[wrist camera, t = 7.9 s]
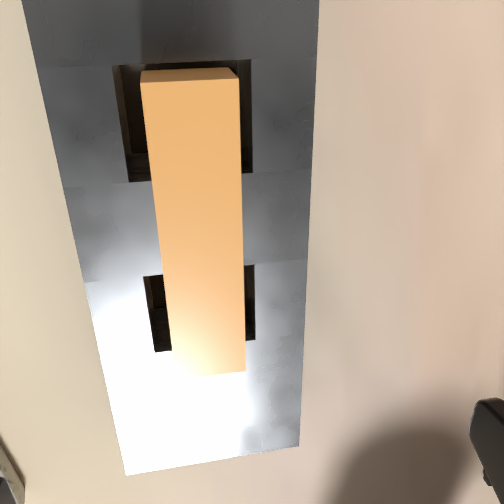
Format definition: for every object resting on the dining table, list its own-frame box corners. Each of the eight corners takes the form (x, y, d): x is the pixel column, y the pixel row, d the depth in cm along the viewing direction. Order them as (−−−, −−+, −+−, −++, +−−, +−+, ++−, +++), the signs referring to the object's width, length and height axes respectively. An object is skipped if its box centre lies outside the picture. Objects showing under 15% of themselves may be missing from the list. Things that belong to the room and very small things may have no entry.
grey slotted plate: (-1, -223, 13) (-41, -278, 10) (297, -210, 14) (331, -256, 11) (129, 422, 24) (126, 474, 22) (284, 399, 25) (299, 446, 23)
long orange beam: (216, 54, 17) (239, 78, 12) (227, 294, 22) (245, 371, 17) (142, 57, 16) (139, 83, 12) (170, 300, 21) (175, 380, 17)
